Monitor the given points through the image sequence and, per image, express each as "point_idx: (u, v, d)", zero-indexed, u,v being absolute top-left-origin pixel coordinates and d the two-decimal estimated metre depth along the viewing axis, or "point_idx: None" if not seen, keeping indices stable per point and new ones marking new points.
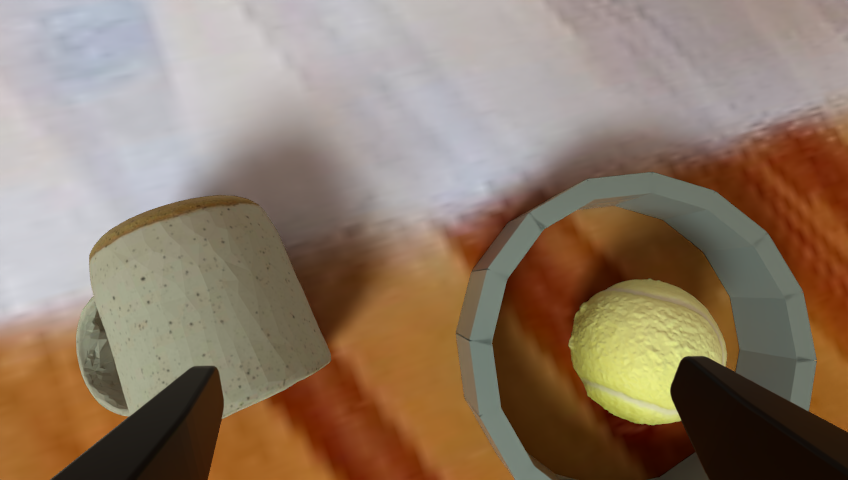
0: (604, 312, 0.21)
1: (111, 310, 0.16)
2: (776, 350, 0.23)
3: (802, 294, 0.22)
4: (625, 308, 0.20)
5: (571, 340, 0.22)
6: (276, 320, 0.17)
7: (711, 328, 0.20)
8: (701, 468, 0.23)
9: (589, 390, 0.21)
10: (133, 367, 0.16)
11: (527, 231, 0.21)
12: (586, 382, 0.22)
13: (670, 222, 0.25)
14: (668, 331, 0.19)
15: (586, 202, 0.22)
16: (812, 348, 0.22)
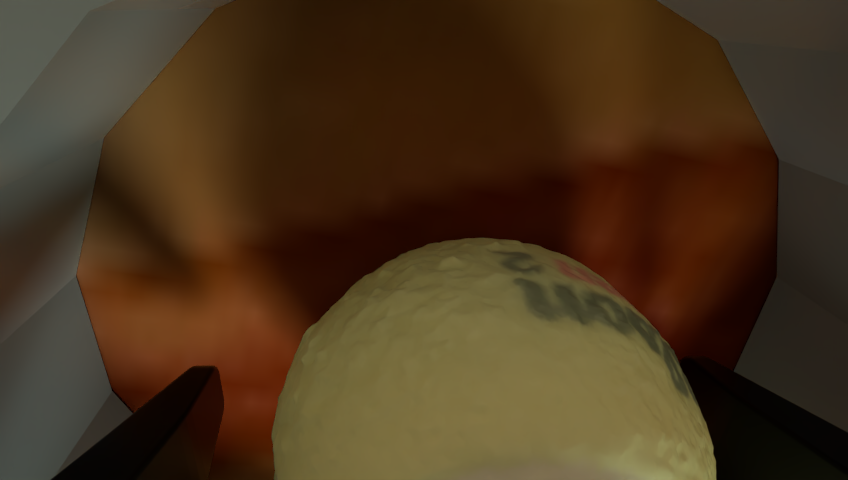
0: None
1: None
2: (831, 43, 0.06)
3: None
4: None
5: None
6: None
7: None
8: (800, 356, 0.10)
9: None
10: None
11: None
12: None
13: (227, 0, 0.07)
14: None
15: None
16: None
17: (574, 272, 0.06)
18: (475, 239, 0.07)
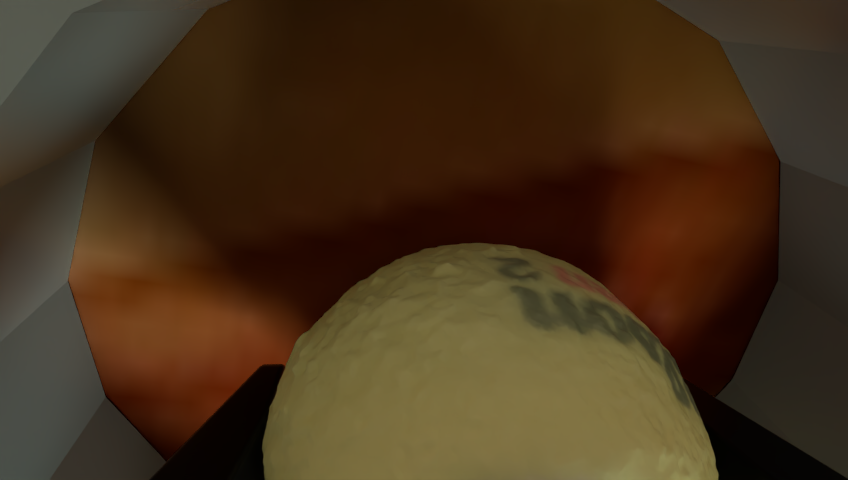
0: None
1: None
2: (835, 44, 0.06)
3: None
4: None
5: None
6: None
7: None
8: (802, 361, 0.10)
9: None
10: None
11: None
12: None
13: (219, 1, 0.07)
14: None
15: None
16: None
17: (572, 279, 0.06)
18: (471, 244, 0.07)
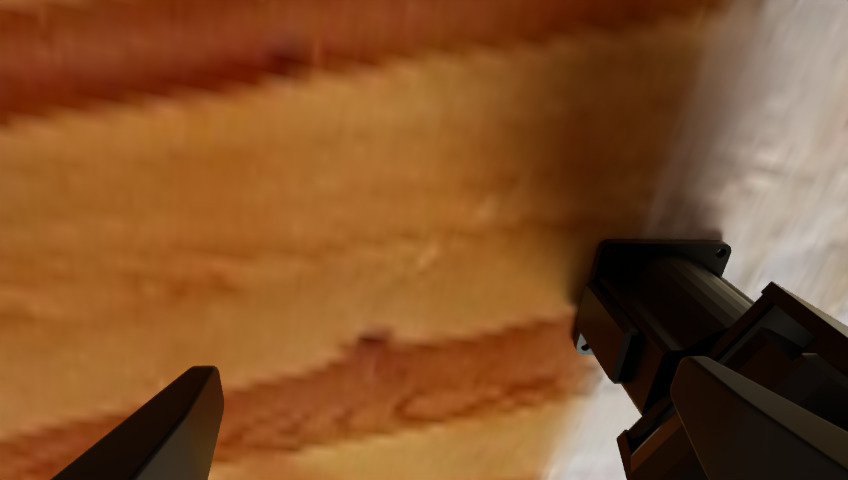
0: None
1: None
2: None
3: None
4: None
5: None
6: None
7: None
8: None
9: None
10: None
11: None
12: None
13: None
14: None
15: None
16: None
17: None
18: None
